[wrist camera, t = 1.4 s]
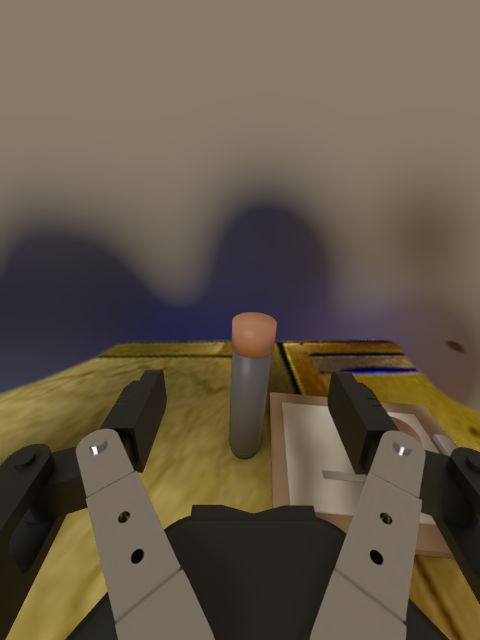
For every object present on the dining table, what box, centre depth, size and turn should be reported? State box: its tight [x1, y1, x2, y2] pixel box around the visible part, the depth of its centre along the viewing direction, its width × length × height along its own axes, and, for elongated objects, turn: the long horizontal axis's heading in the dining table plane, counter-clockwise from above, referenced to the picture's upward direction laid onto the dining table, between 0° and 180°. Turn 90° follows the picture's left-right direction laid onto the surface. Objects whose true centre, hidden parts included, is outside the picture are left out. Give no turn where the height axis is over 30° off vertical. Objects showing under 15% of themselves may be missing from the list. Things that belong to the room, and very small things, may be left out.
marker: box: [229, 312, 277, 459], centre depth 27 cm, size 4×4×16 cm
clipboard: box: [270, 392, 457, 559], centre depth 30 cm, size 21×17×2 cm
